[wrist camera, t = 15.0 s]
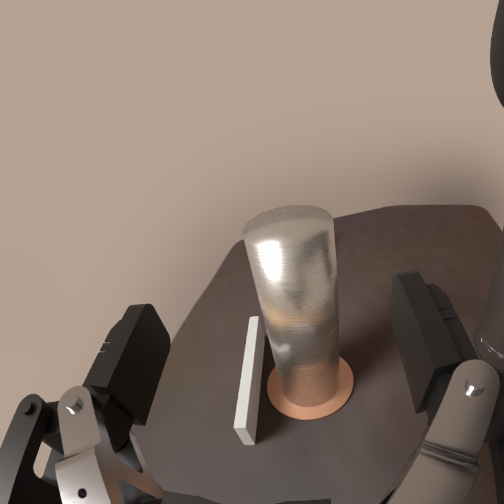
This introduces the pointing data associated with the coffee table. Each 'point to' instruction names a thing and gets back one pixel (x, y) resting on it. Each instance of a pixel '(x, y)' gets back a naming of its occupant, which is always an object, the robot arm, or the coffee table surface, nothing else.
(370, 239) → the coffee table surface
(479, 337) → the robot arm
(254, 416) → the acrylic wall
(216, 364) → the coffee table surface
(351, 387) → the terracotta coaster
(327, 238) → the metal tin
